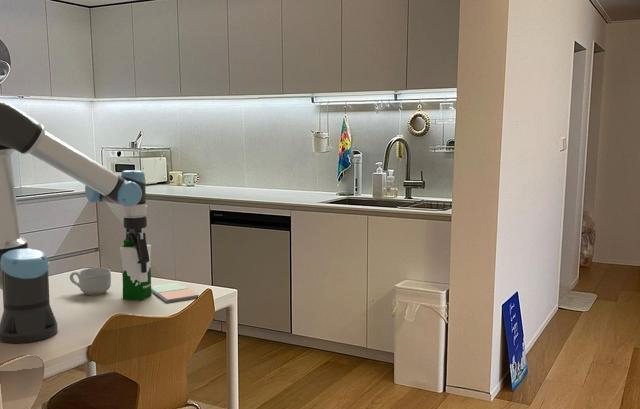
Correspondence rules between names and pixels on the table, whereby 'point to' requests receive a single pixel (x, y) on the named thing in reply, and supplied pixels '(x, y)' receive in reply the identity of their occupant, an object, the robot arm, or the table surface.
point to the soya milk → (134, 273)
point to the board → (173, 292)
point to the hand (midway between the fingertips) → (137, 277)
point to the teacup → (93, 280)
